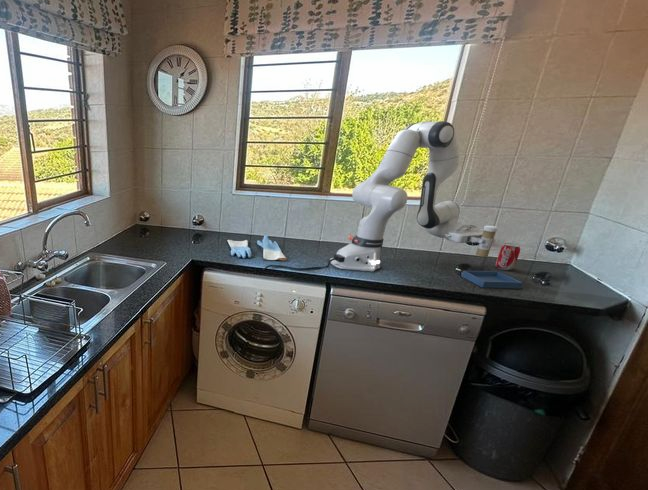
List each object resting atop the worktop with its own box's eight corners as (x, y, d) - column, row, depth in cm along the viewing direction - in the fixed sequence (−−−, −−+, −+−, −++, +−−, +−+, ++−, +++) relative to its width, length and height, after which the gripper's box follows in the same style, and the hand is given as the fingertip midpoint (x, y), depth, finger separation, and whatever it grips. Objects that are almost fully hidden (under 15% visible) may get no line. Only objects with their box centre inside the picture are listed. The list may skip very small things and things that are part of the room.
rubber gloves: (231, 258, 204) (232, 246, 201) (227, 241, 234) (228, 230, 232) (286, 261, 201) (288, 248, 198) (275, 243, 231) (276, 232, 229)
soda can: (516, 272, 189) (524, 247, 185) (497, 270, 191) (506, 245, 187) (509, 267, 195) (517, 243, 191) (491, 265, 197) (499, 242, 193)
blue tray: (482, 287, 171) (484, 281, 170) (460, 276, 183) (462, 270, 182) (520, 288, 170) (522, 282, 169) (496, 277, 182) (498, 271, 181)
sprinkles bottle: (489, 256, 179) (499, 226, 174) (485, 257, 177) (495, 228, 172) (477, 253, 183) (486, 224, 178) (473, 255, 180) (482, 225, 175)
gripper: (443, 227, 185) (472, 235, 173) (477, 225, 190) (508, 233, 178) (439, 240, 188) (467, 249, 175) (473, 238, 192) (503, 246, 180)
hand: (488, 241), depth 176 cm, fingers closed on sprinkles bottle, 4 cm apart
